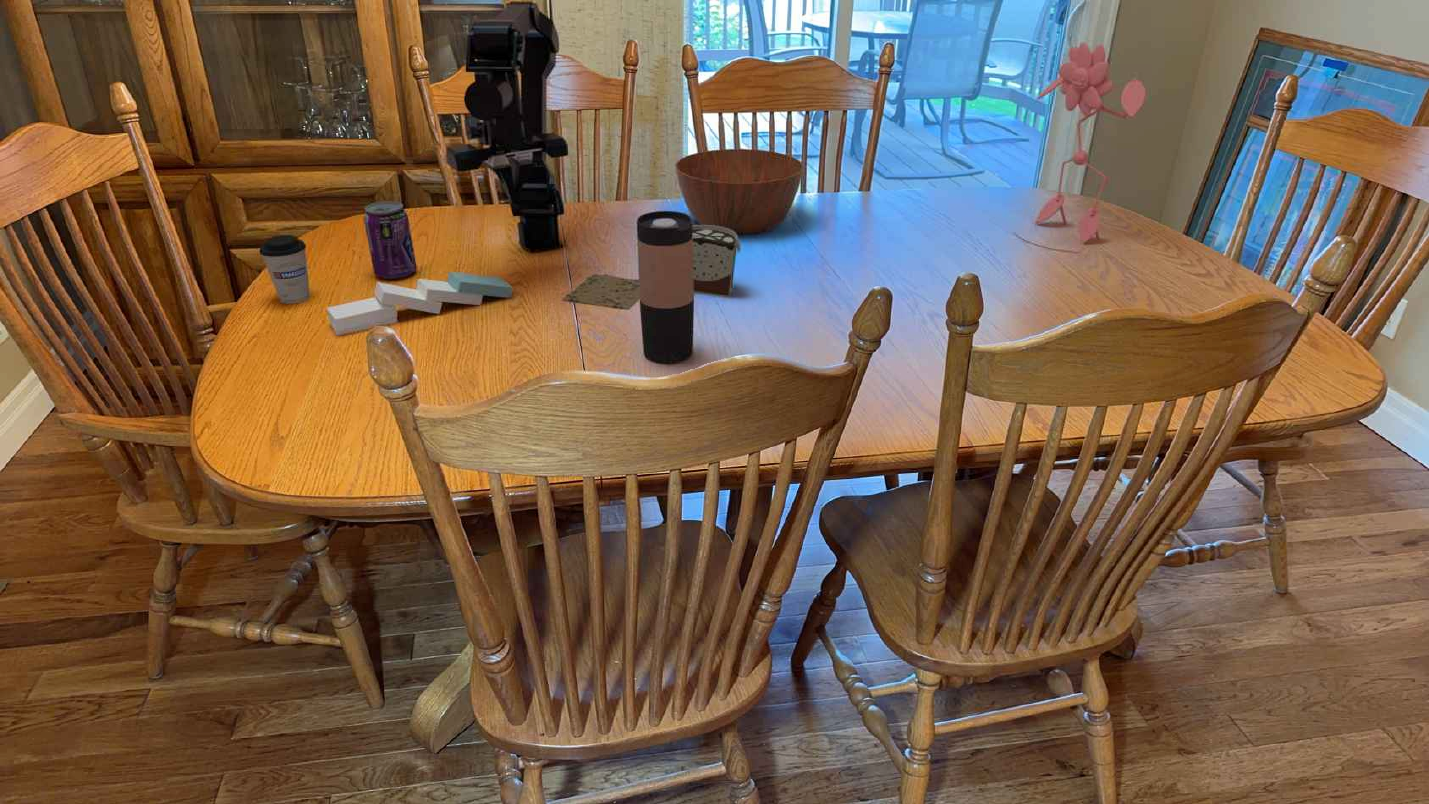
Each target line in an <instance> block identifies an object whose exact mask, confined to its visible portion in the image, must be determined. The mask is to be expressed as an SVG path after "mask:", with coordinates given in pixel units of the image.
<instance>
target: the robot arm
mask: <svg viewBox="0 0 1429 804" xmlns="http://www.w3.org/2000/svg"><path fill="white" fill-rule="evenodd" d="M470 26H471V27H470V28H469V29H468V30H467V38H466V39H467V41H466V42H467V43H466V53H465V54H466V55H465V72H466V73H473V75H474V76H473V77H474V81H473V82H472V83H470V84H469V85H468V87H467V88H466V90H465V91H464V97H463V100H464V101H463V103H464V105H465V108H466V110H467V111H468V113H469V114H470V115H472V116H473V117H472V118H471V117H470V118H465V119H464V120H463V121H464V130H465V136H466V139H467V140H468V141H472V140H478V144H479V146H488V147H484V148H482V147H481V148H477V147H475V146H474V145H472V144H471V143H466V144H465V143H463V144H457V145H451V146H448V147H447V149H446V151H445V158H446V164H447V165H449V166H450V168H452V169H454V170H455V171H457V172H469V171H475V170H479V168H480V167H481V166H482V165H483V166H484V167H486V168H487V169H489V170H490V171H492V172H493V173H494V174H495V175H496V176H497V179H498V180H499V182H500V185H501V186H502V188H503V191H504V193H505V194H506V196H507V199H508V202H509V205H510V209H511V214H512V217H519V221H518V222H517V231H518V244H520V245H521V246H522V247H523V248H525V249H526V250H527V251H528V252H529V253H538V252H543V251H547V250H548V251H549V250H552V249H558V248H562V247H564V243H563V242H561V241H560V232H559V231H560V230H559V221H558V218H559V216H562V215H564V214H565V205H564V200H563V195H562V194H561V191H560V189H559V186H558V184H557V183H556V176H555V175H554V173H553V171H552V169H551V167H550V166H549V163H548V162H547V156H549V157H550V159H554V158H563V157H567V156H569V147H568V146H569V144H568V142H567V140H566V139H565V138H564V137H563V136H561V135H558V134H557V133H554V132H547V90H548V89H547V79H548V78H549V76H551V74H552V71H553V70H554V69H555V67H556V63H557V54H558V53H559V50H560V39H559V34H558V32H557V28H556V26H555V22H554V21H553V19H551V18H550V17H548V16H547V15H545V14H544V13H543V12H542V11H540V8H539V6H538V3H536V2H533V1H526V0H525V1H522V0H521V1H519V0H518V1H517V0H515V1H514V0H513V1H512V0H511V1H509V2H506V3H505V8H504V9H502V11H501V12H499V13H498V14H497V15H496V16H495V17H494V18H492V19H481V20H480V19H478V20H474V21H473V22H472V24H471V25H470ZM518 72H519V73H518ZM519 74H520V78H519ZM519 79H520V80H519ZM479 121H480V122H479Z"/></svg>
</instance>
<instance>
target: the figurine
mask: <svg viewBox="0 0 1429 804" xmlns="http://www.w3.org/2000/svg"><path fill="white" fill-rule="evenodd" d="M1068 57H1069V60H1070V61H1066V62H1064V63H1063V64H1061V65H1060V67H1059V68H1058V71H1057V72H1058V75H1059V76H1058V77H1057V78H1056V79H1054V80H1053V81H1052V82H1051V83H1050V84H1049V85H1048V86H1047V87H1046V88H1045V89H1043V91H1042V92H1041V93H1040V94H1039V95H1038V96H1037V97H1036V99H1037V100H1040V99H1042V98H1044V97H1045V96H1046V95H1048V94H1050V93H1051V92H1053V91H1054V90H1055V89H1056V88H1057V87H1059V86H1060V87H1059V88H1060V91H1059V92H1060V93H1061V95H1064V96H1065V101H1064V102H1065V108H1066V110H1067V111H1068V112H1072V111H1074V110H1075V108H1076V107H1077V105H1078V108H1079V110H1080V113H1082V114H1083V116H1084V117H1083V118H1081V119H1079V120H1078V122H1077V123H1076V128H1077V129H1076V130H1077V141H1078V151H1076V152H1075V153H1074V154H1073V156H1072V158H1070V159H1068V160H1066V161H1064V162H1062V164H1061V171H1060V178H1059V183H1058V191H1057V195H1056V196H1054V197H1052V198H1051V199H1049V200H1048V201H1047V202H1046V203H1045V204H1044V205H1043V207H1042V208H1041V210H1040V211H1039V213H1038V215H1037V217H1036V220H1035V225H1037V224H1041V223H1042V222H1043V223H1044V222H1045V221H1048V220H1049V219H1050V218H1052V217H1053V216H1054V215H1056V214H1057V212H1058V211H1059V210H1060V214H1061V215H1060V216H1061V219H1062V221H1063V222H1062V223H1063V225H1066V224H1067V219H1066V215H1065V210H1064V207H1063V204H1064V202H1065V195H1063V194H1061V188H1062V181H1063V175H1064V167H1065V164H1068V163H1070V162H1072V161H1073V163H1074V165H1077V166H1083V165H1086V166H1087V167H1088V168H1089V169H1091V170H1093V171H1094V172H1095V173H1097V175H1098V174H1099V175H1100V176H1101V177H1103V178H1104V180H1103V182H1102V185H1101V187H1100V189H1099V192H1098V195H1097V198H1096V200H1095V202H1094V205H1093V208H1089V209H1087V210H1085V211H1084V213H1083V214H1082V215H1081V216H1080V218H1079V221H1078V222H1077V223H1078V225H1077V226H1078V227H1077V228H1078V234H1079V237H1080V239H1081V241H1082V243H1083V244H1085V243H1086V242H1087V241H1089V240H1090V239H1092V237H1093V236H1095V238H1096V239H1100V233H1099V228H1100V225H1101V216H1100V211H1098V210H1097V209H1096V208H1097V205H1098V203H1099V200H1100V198H1101V195H1102V192H1103V190H1104V188H1105V185H1106V183H1107V180H1108V178H1107V176H1106V175H1104V174H1103V173H1101V171H1099V170H1098V169H1096V168H1095V167H1093V166H1092V165H1090V164H1089V163H1088V161H1089V154H1088V153H1087V151H1085V150H1082V144H1081V143H1082V141H1081V139H1082V138H1081V123H1082V122H1085V121H1086V120H1088V119H1089V118H1090V117H1092V116H1094V115H1095V114H1097V113H1099V112H1100V111H1101V112H1106V113H1108V114H1112V115H1114V116H1116V117H1120V119H1124V120H1126V119H1127V116H1129V117H1130V118H1131V119H1133V118H1134V117H1135V116H1136V115H1137V114H1138V112H1139V111H1140V110H1141V108H1142V107H1143V105H1144V102H1145V100H1146V88H1145V86H1144V84H1143V82H1142V81H1140V80H1138V77H1133V78H1132V80H1131V81H1129V82H1128V83H1127V84H1125V86H1124V88H1123V90H1122V93H1121V97H1120V102H1121V106H1122V109H1123V111H1124V113H1123V114H1122V113H1119V112H1117V111H1114V110H1112V109H1109V108H1107V107H1106V106H1105V105H1104V104H1103V100H1102V98H1101V97H1103V96H1106V95H1108V94H1109V93H1111V92H1112V91H1113V88H1114V83H1113V81H1112V80H1111V79H1110V78H1108V77H1107V76H1108V73H1109V69H1110V64H1109V62H1108V61H1106V51H1105V46H1104V45H1103V44H1098V46H1096V47H1095V48H1094V50H1093V51H1092V50H1091V48H1090V47H1089V45H1087V43H1086V42H1081V43H1079V46H1078V47H1077V46H1072V47H1070V48H1069V51H1068ZM1093 110H1094V111H1093ZM1012 232H1013V233H1014V235H1016V237H1017V238H1019V239H1021V240H1022V241H1023V243H1027V244H1031V245H1034V246H1038V247H1041V248H1045V249H1047V250H1050V251H1059V252H1066V253H1073V251H1072V250H1071V251H1070V250H1063V249H1056V248H1052V247H1051V248H1050V247H1046V246H1044V245H1039V244H1036V243H1033V242H1030V241H1029V240H1025V239H1024V238H1022V237H1020V236H1019V235H1018V234H1016V233H1015V232H1014V230H1012ZM1074 253H1076V254H1077V253H1078V254H1079V251H1074Z"/></svg>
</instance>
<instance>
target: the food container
mask: <svg viewBox="0 0 1429 804" xmlns="http://www.w3.org/2000/svg"><path fill="white" fill-rule="evenodd" d="M692 232H693V275H694V294H700V295H707V296H716V297H722V298H730V297H731V296H732V291H733V285H734V284H733V282H734V274H735V265H736V257H737V253H739V254H740V252H741V249H742V248H741V243H740V239H739V236H738V234H736V233H735V232H734V231H732V230H730V229H728V228H725V227H720V226H714V225H700V224H695V225H694V224H692Z"/></svg>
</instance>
